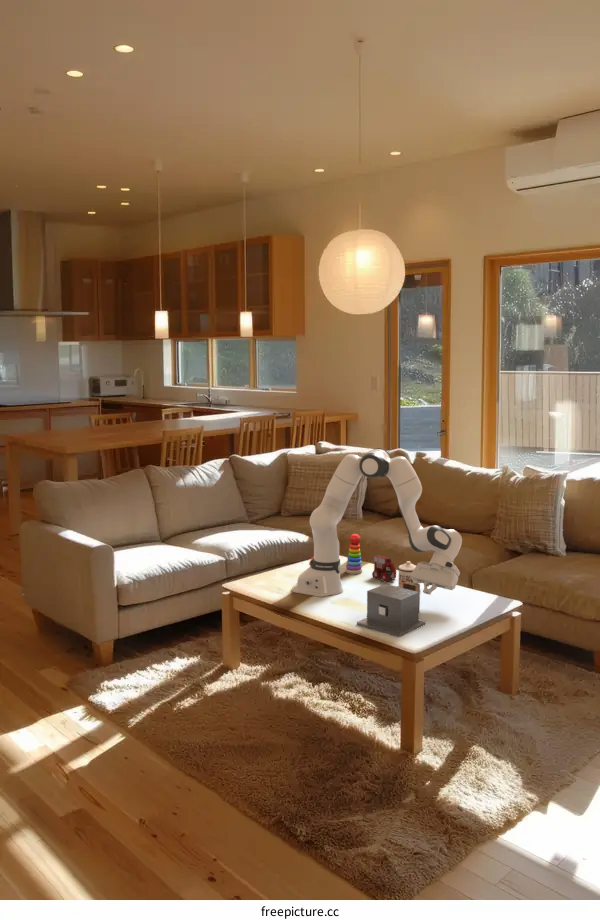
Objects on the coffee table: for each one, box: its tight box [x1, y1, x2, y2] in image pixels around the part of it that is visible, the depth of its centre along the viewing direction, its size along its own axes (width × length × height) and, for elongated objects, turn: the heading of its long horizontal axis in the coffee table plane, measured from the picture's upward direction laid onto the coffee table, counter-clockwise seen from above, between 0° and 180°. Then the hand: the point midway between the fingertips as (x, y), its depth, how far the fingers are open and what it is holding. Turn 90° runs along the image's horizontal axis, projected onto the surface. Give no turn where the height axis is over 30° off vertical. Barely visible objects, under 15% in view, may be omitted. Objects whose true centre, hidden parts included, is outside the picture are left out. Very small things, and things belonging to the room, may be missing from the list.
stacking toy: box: [345, 533, 363, 575], centre depth 385 cm, size 8×8×19 cm
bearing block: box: [356, 583, 427, 638], centre depth 316 cm, size 18×20×13 cm
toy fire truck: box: [371, 554, 397, 582], centre depth 375 cm, size 7×12×10 cm, turn 45°
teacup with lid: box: [397, 560, 421, 588], centre depth 363 cm, size 12×9×12 cm
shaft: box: [379, 581, 421, 616], centre depth 319 cm, size 21×6×12 cm, turn 137°
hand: (426, 593), depth 334 cm, fingers closed
